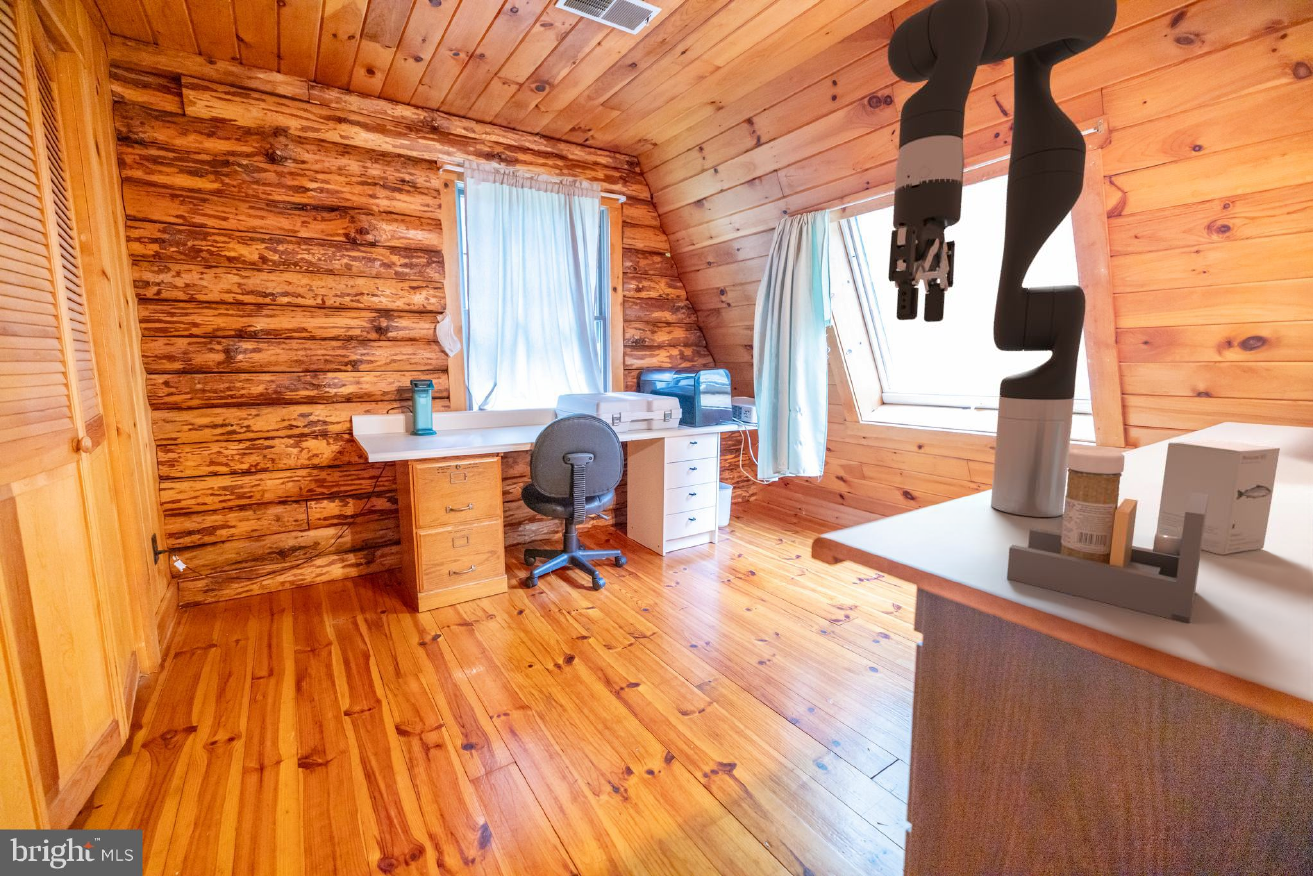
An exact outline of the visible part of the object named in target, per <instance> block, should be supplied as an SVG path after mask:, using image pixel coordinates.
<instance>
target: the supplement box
mask: <svg viewBox="0 0 1313 876" xmlns="http://www.w3.org/2000/svg"><path fill="white" fill-rule="evenodd" d="M1280 450H1281V449H1280V447H1276V446H1268V445H1260V444H1259V445H1258V444H1249V443H1239V442H1231V441H1223V440H1213V439H1211V440H1210V439H1204V440H1201V439H1200V440H1189V441H1185V440H1184V441H1172V442H1168V444H1167V451H1166V460H1165V464H1164V465H1165V466H1164V475H1163V479H1162V480H1163V481H1162V487H1161V489H1162V490H1161V495H1160V496H1161V497H1160V503H1159V510H1158V517H1157V525H1156V526H1157V527H1156V532H1155V534H1161V535H1167V536H1174V537H1180V538H1182V533H1183V525H1184V518H1185V511H1186V508H1187V505H1188V502H1189V500H1190V497H1191V494H1192V493H1200V494H1208V495H1209V497H1208V504H1207V512H1206V519H1205V526H1204V533H1203V541H1202V548H1201V551H1206V552H1210V553H1213V554H1217V555H1221V556H1225V555H1228V554H1232V553H1233V554H1234V553H1239V552H1246V551H1251V550H1252V551H1254V550H1262V549H1264V546H1265V540H1266V535H1267V529H1268V523H1269V517H1270V512H1271V507H1272V506H1271V505H1272V499H1273V495H1274V487H1275V480H1276V473H1277V469H1278V468H1277V467H1278V463H1279V462H1278V461H1279V456H1280Z"/></svg>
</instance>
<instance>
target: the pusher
mask: <svg viewBox="0 0 1313 876" xmlns="http://www.w3.org/2000/svg"><path fill="white" fill-rule="evenodd" d="M1137 509H1138V499H1132V498H1124V499H1123V501H1122V502H1121V503H1120V504H1119V506H1118V508H1117V510H1116V511H1115V520H1114V528H1113V537H1112V546H1111V555H1110V565H1115V566H1120V567H1125V568H1130V569H1135V570H1139V571H1144V572H1149V573H1154V574H1159V575H1160V569H1161V567H1155V566H1150V565H1145V564H1140V563H1135V562H1130V560H1131V552H1132V546H1133V541H1134V533H1135V525H1136V518H1137V517H1136V516H1137Z"/></svg>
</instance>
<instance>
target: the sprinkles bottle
mask: <svg viewBox="0 0 1313 876" xmlns="http://www.w3.org/2000/svg"><path fill="white" fill-rule="evenodd" d="M1124 470H1125V454H1123V453H1122V452H1119V451H1116V450H1115V451H1114V450H1108V449H1097V448H1073V449H1069V452H1068V458H1067V481H1066V492H1065V496H1064V506H1063V519H1062V529H1061V530H1062V531H1061V533H1062V538H1061V543H1062V547H1061V555H1066V556H1071V557H1076V558H1081V559H1086V560H1091V561H1095V562H1100V563H1105V564H1110V555H1111V546H1112V537H1113V528H1114V520H1115V511H1116V510H1117V508H1118V507H1119V506H1118V505H1119V497H1120V496H1119V495H1120V484H1121V477H1122V476H1123V473H1124Z"/></svg>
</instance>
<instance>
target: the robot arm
mask: <svg viewBox="0 0 1313 876" xmlns="http://www.w3.org/2000/svg"><path fill="white" fill-rule="evenodd" d="M1117 1H1118V0H936V1H934V2H932V3H931V4H929V5H927V7H924V8H922V9H920V10H919V11H917V12H916V13H914V14H912V15H910V16H909V17H907V18H906V19H904V20H903V21H902V22H901V23H899V25H898V26H897V27H896V29H895V30H894V31H893V33H892V35H891V38H890V39H889V40H890V41H889V43H888V47H887V61H888V65H889V67H890V70H891V71H892V73H893V74H894V76H895V77H897V78H898V79H900V80H901V81H903V82H906V83H911V84H916V83H922V82H924V81H926V83H925V84H923V85H922V87H921V88H919V89H918V90H917V91H915V92H914V93H913V94H911V96H909V97H908V98H907V99H906V101H905V102H904V103H903V105H902V108H901V111H900V119H899V135H898V156H897V161H896V166H895V176H894V177H895V178H894V179H895V180H894V194H893V195H894V197H893V217H892V226H893V228H894V229H892V231H891V235H890V250H889V262H888V263H889V264H888V281H889V282H890V283H891V282H894V287H895V288H896V289H897V298H896V299H897V300H896V301H897V302H896V303H897V304H896V319H897V320H899V321H913V320H915V319H916V318H918V311H919V310H918V306H919V305H918V304H919V292H920V291H919V289H920V288H919V287H918V286H919V284H920V282H921V281H922V282H923V286H924V291H925V293H924V306H923V307H924V308H923V309H924V311H923V320H924V322H926V323H933V322H935V323H938V322H942V321H943V319H944V310H945V295H946V292H948V290H949V289H950V288H952V287H953V286H954V271H955V269H954V268H955V253H956V252H955V250H956V243H955V240H954V239H952V240H946V237H945V230H946V229H947V228H948V227H952V226H954V225H956V224H958V223H959V222H960V220H961V216H962V215H961V214H962V199H963V186H964V185H963V183H964V170H965V169H964V168H965V155H964V128H965V115H966V104H967V101H968V98H969V95H970V91H971V90H972V89H971V88H972V86H973V83H974V79H975V76H976V72H977V70H978V67H980V66H986V65H991V64H996V63H1000V62H1002V61H1005V60H1008V59H1011V58H1012V61H1013V63H1012V65H1013V66H1012V67H1013V68H1012V69H1013V116H1012V117H1013V119H1012V132H1011V143H1010V144H1011V145H1010V156H1009V162H1008V171H1007V172H1008V173H1007V181H1006V182H1007V184H1006V198H1005V199H1006V200H1005V222H1004V227H1005V228H1004V242H1003V253H1002V260H1001V268H1000V274H999V281H998V286H997V287H998V288H997V295H996V301H995V308H994V315H993V317H994V318H993V327H992V330H993V332H992V333H993V341H994V345H995V347H996V348H997V349H998V350H999V351H1002V352H1003V351H1004V352H1044V351H1045V352H1047V351H1049V352H1051V357H1050V358H1048V360H1047V361H1045V362H1043V363H1042V364H1040V365H1039V366H1036V367H1034V368H1032V369H1028V370H1027V371H1023V372H1020V373H1015V374H1011V375H1009V376H1006V377H1004V378H1003V379H1001V382H1000V385H999V399H998V409H997V411H998V412H997V422H996V423H997V425H996V426H997V427H996V436H995V437H996V438H995V447H994V461H993V475H992V476H993V477H992V486H991V488H992V489H991V499H990V500H991V501H990V506H991V507H992V508H994V509H996V510H997V511H998V510H999V511H1001V512H1005V513H1007V514H1008V513H1009V514H1013V515H1018V516H1027V517H1037V518H1038V517H1039V518H1051V517H1052V518H1053V517H1059V516H1062V515H1064V507H1065V496H1066V488H1067V478H1068V467H1067V458H1068V452H1069V451H1070V447H1071V445H1070V444H1071V436H1072V425H1073V414H1074V413H1073V412H1074V405H1075V404H1074V403H1075V391H1076V379H1077V367H1078V361H1079V359H1078V357H1079V351H1080V345H1081V340H1082V333H1083V329H1084V322H1085V315H1086V301H1087V300H1086V296H1085V295H1086V294H1085V292H1084V289H1082V287H1081V286H1079V285H1077V284H1063V285H1048V286H1047V285H1046V286H1033V287H1031V286H1030V287H1023V283H1024V280H1025V278H1026V276H1027V273H1028V271H1029V268H1030V267H1031V265H1032V263H1033V261H1034V260H1035V258H1036V256H1037V254H1039V252H1040V250H1041V249H1042V247H1043V246H1044V245H1045V243H1046V242H1047V241H1048V239H1049V237H1050V236H1051V235H1053V233H1054V232H1055V230H1056V229H1057V228H1058V227H1059V226H1060V224H1062V222H1063V221H1064V220H1065V218H1067V216H1068V214H1069V213H1070V212H1071V210H1072V209H1073V208H1074V206H1075V205H1076V203H1077V201H1078V200H1079V198H1080V196H1081V194H1082V191H1083V188H1084V178H1085V168H1086V167H1085V165H1086V156H1087V143H1086V140H1085V138H1084V135H1083V133H1082V132H1081V130H1080V129H1079V128H1078V126H1077V125H1076V123H1074V122H1073V121H1072V119H1071V118H1070V117H1069V116H1068V115H1067V114H1066V113H1065V111H1063V110H1062V109H1061V108H1060V106H1059V105H1058V103H1056V100H1055V99H1054V98H1053V96H1052V91H1051V72H1052V70H1053V67H1054V66H1055V65H1058V64H1060V63H1062V62H1064V61H1066V60H1069V59H1071V58H1072V57H1075V56H1077V55H1079V54H1081V53H1084V52H1086V51H1088V50H1090V49H1091V48H1093V47H1094V46H1096V45H1098V44H1099V43H1100V42H1101V41H1103V40H1104V39H1106V37H1107V36H1108V35H1109V34H1110V33H1111V31H1112V29H1113V28H1114V25H1115V22H1116V18H1117V15H1118V14H1117V13H1118V4H1117V3H1118V2H1117Z"/></svg>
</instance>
